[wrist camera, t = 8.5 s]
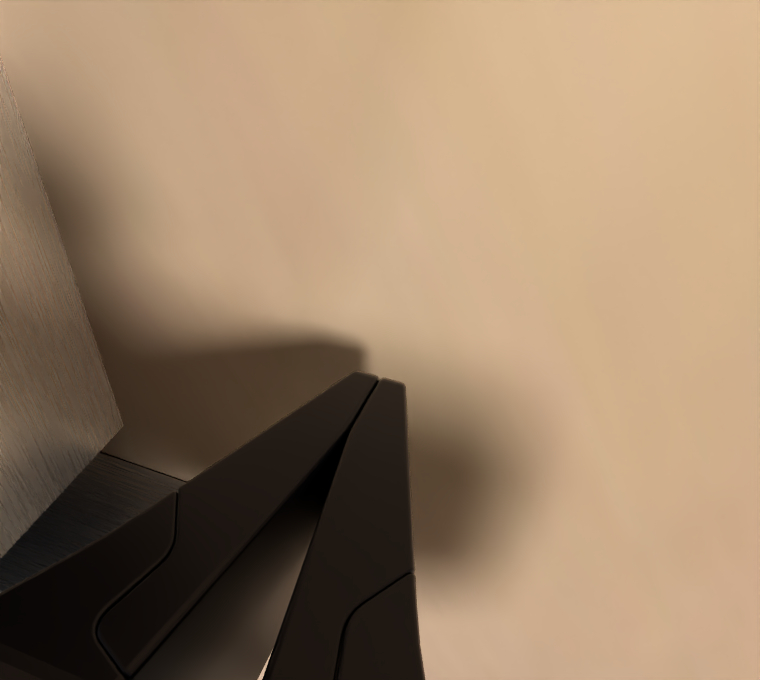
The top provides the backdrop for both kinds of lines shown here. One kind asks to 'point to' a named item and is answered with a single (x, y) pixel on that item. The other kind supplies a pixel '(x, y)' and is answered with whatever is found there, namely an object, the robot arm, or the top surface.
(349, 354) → the top surface
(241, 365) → the top surface
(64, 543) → the frame
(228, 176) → the top surface
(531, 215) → the top surface
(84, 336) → the drawer
